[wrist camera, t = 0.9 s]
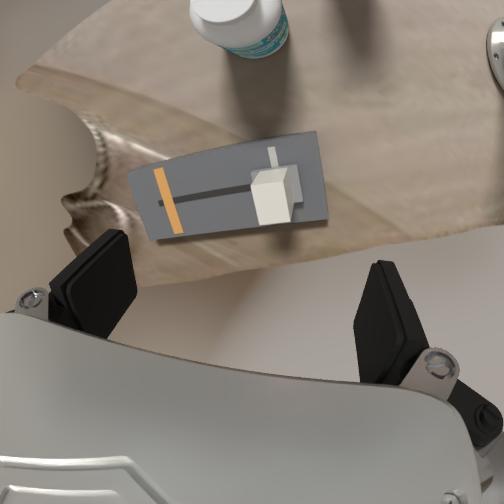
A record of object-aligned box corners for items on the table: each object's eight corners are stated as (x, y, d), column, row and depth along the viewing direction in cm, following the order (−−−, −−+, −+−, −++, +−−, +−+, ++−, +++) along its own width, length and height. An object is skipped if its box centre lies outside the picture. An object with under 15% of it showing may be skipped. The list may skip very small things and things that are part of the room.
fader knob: (297, 163, 31) (294, 179, 26) (303, 198, 32) (301, 220, 27) (252, 170, 32) (239, 187, 27) (259, 203, 34) (249, 226, 29)
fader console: (315, 130, 31) (316, 133, 29) (328, 212, 35) (328, 219, 33) (133, 169, 37) (125, 173, 35) (156, 233, 42) (149, 240, 40)
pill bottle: (248, 71, 28) (208, 60, 17) (210, 26, 26) (153, -1, 15) (303, 36, 25) (298, 1, 14) (263, -9, 23) (233, -59, 11)
